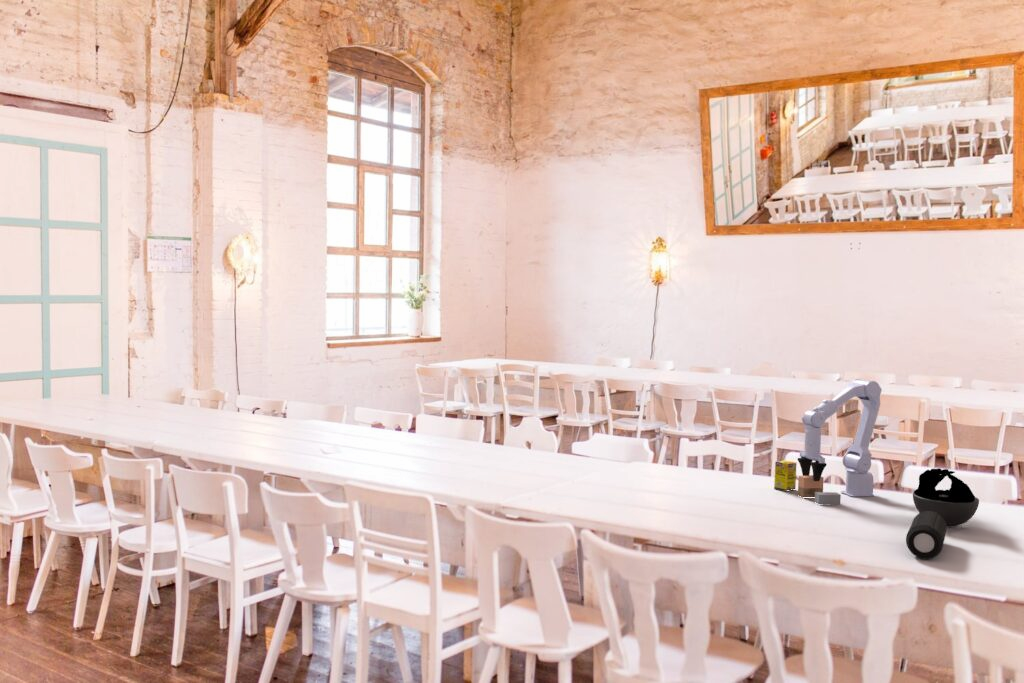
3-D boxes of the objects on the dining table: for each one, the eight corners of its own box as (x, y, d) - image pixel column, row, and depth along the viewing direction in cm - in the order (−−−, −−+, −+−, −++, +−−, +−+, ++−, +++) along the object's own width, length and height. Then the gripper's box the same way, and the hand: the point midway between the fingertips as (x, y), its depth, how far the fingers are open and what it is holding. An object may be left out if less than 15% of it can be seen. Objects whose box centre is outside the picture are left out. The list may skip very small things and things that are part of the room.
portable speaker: (941, 563, 266) (943, 529, 266) (904, 558, 271) (905, 524, 271) (946, 543, 289) (948, 511, 288) (912, 538, 294) (913, 507, 293)
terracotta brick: (817, 485, 352) (817, 475, 352) (823, 487, 349) (823, 477, 348) (798, 486, 351) (798, 475, 350) (803, 488, 347) (804, 477, 347)
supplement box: (787, 491, 359) (788, 463, 358) (773, 489, 363) (774, 461, 363) (795, 490, 362) (797, 462, 362) (782, 487, 367) (783, 459, 366)
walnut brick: (816, 496, 353) (817, 485, 353) (822, 498, 349) (823, 487, 349) (797, 496, 351) (798, 486, 351) (803, 499, 347) (803, 488, 347)
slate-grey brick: (836, 503, 342) (836, 492, 341) (840, 505, 338) (840, 494, 337) (814, 502, 341) (814, 492, 341) (818, 505, 337) (818, 494, 337)
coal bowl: (921, 515, 324) (923, 462, 323) (984, 525, 311) (987, 470, 310) (903, 526, 308) (906, 470, 307) (969, 537, 296) (971, 478, 295)
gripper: (792, 440, 355) (791, 475, 356) (813, 446, 341) (811, 483, 342) (809, 439, 357) (808, 474, 357) (830, 446, 342) (829, 482, 343)
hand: (811, 478), depth 350 cm, fingers open, 7 cm apart
